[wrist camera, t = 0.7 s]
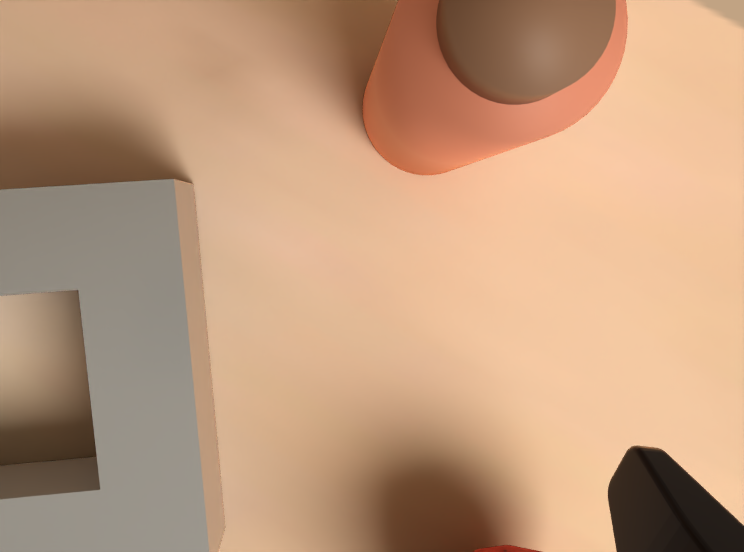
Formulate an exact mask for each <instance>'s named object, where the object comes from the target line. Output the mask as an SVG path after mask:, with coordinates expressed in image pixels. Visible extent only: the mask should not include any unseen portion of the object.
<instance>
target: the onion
mask: <svg viewBox="0 0 744 552" xmlns="http://www.w3.org/2000/svg"><path fill="white" fill-rule="evenodd" d="M473 552H541V551H536V550H531V549H526V548H521V547H516V546H511V545H501V546H495V547H488V548H481V549H477V550H475V551H473Z"/></svg>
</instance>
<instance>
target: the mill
mask: <svg viewBox="0 0 744 552" xmlns="http://www.w3.org/2000/svg"><path fill="white" fill-rule="evenodd" d="M627 22H628V17H627V6H626V0H398V3H397V5H396V8H395V11H394V13H393V16H392V19H391V21H390V24H389V27H388V30H387V32H386V35H385V38H384V40H383V43H382V46H381V48H380V51H379V54H378V56H377V59H376V62H375V65H374V67H373V70H372V73H371V75H370V78H369V81H368V83H367V86H366V89H365V93H364V97H363V120H364V125H365V129H366V132H367V134H368V137H369V139H370V141H371V143H372V144H373V146H374V147H375V149H376V150H377V151H378V153H379V154H380V155H381V156H382V157H383V158H384V159H385V160H387V161H388V162H389V163H390V164H392V165H393V166H395V167H397V168H399V169H401V170H403V171H406V172H409V173H413V174H418V175H436V174H441V173H445V172H448V171H451V170H454V169H457V168H460V167H462V166H465V165H468V164H471V163H474V162H477V161H480V160H483V159H485V158H488V157H491V156H494V155H497V154H500V153H503V152H505V151H508V150H511V149H514V148H517V147H520V146H523V145H526V144H528V143H531V142H534V141H537V140H540V139H543V138H546V137H549V136H551V135H553V134H556V133H558V132H561V131H563V130H565V129H566V128H568V127H570V126H571V125H573V124H575V123H576V122H578V121H579V120H580V119H581V118H583V117H584V116H585V115H587V114H588V113H589V112H590V111H591V110H592V109H593V108H594V107H595V106H596V105H597V104H598V102H599V101H600V100H601V98H602V97H603V96H604V94H605V93H606V92H607V90H608V89H609V87H610V85H611V83H612V82H613V80H614V78H615V76H616V74H617V71H618V69H619V67H620V64H621V61H622V57H623V54H624V50H625V44H626V38H627Z"/></svg>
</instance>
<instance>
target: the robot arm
mask: <svg viewBox="0 0 744 552" xmlns="http://www.w3.org/2000/svg"><path fill="white" fill-rule="evenodd" d="M608 501H609V507H610V513H611V519H612V525H613V532H614V538H615V544H616V550H617V552H744V525H743V524H741V523H740V522H739V521H738V520H737V519H736V518H735V517H734V516H733V515H732V514H731V513H730V512H729V511H728V510H727V509H726V508H724V507H723V506H722V505H721V504H720V503H719V502H718V501H717V500H716V499H715V498H714V497H713V496H712V495H711V494H710V493H709V492H707V491H706V490H705V489H704V488H703V487H702V486H701V485H700V484H699V483H698V482H697V481H696V480H695V479H694V478H693V477H691V476H690V475H689V474H688V473H687V472H686V471H685V470H684V469H683V468H682V467H681V466H680V465H679V464H678V463H677V462H676V461H674V460H673V459H672V458H671V457H670V456H669V455H668V454H667V453H666V452H665V451H663V450H661V449H659V448H654V447H645V446H632V447H631V448H629V449H628V450H627V452H626V454H625V455H624V457H623V459H622V461H621V463H620V464H619V466H618V468H617V470H616V471H615V473H614V475H613V477H612V479H611V481H610V483H609V487H608Z"/></svg>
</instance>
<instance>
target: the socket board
mask: <svg viewBox="0 0 744 552" xmlns="http://www.w3.org/2000/svg"><path fill="white" fill-rule="evenodd" d="M71 290H78V292H79V301H80V310H81V319H82V328H83V337H84V346H85V355H86V364H87V373H88V383H89V392H90V401H91V410H92V419H93V428H94V437H95V446H96V455H97V457H87V458H76V459H65V460H54V461H44V462H33V463H22V464H11V465H0V552H218V551H219V548H220V545H221V541H222V538H223V534H224V531H225V518H224V508H223V497H222V486H221V475H220V464H219V453H218V443H217V432H216V421H215V410H214V399H213V388H212V378H211V367H210V356H209V345H208V334H207V323H206V313H205V302H204V291H203V280H202V269H201V258H200V248H199V237H198V226H197V215H196V204H195V193H194V184H192V183H188V182H184V181H180V180H176V179H163V180H147V181H131V182H115V183H99V184H83V185H67V186H50V187H34V188H18V189H2V190H0V296H4V295H17V294H31V293H44V292H58V291H71Z"/></svg>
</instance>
